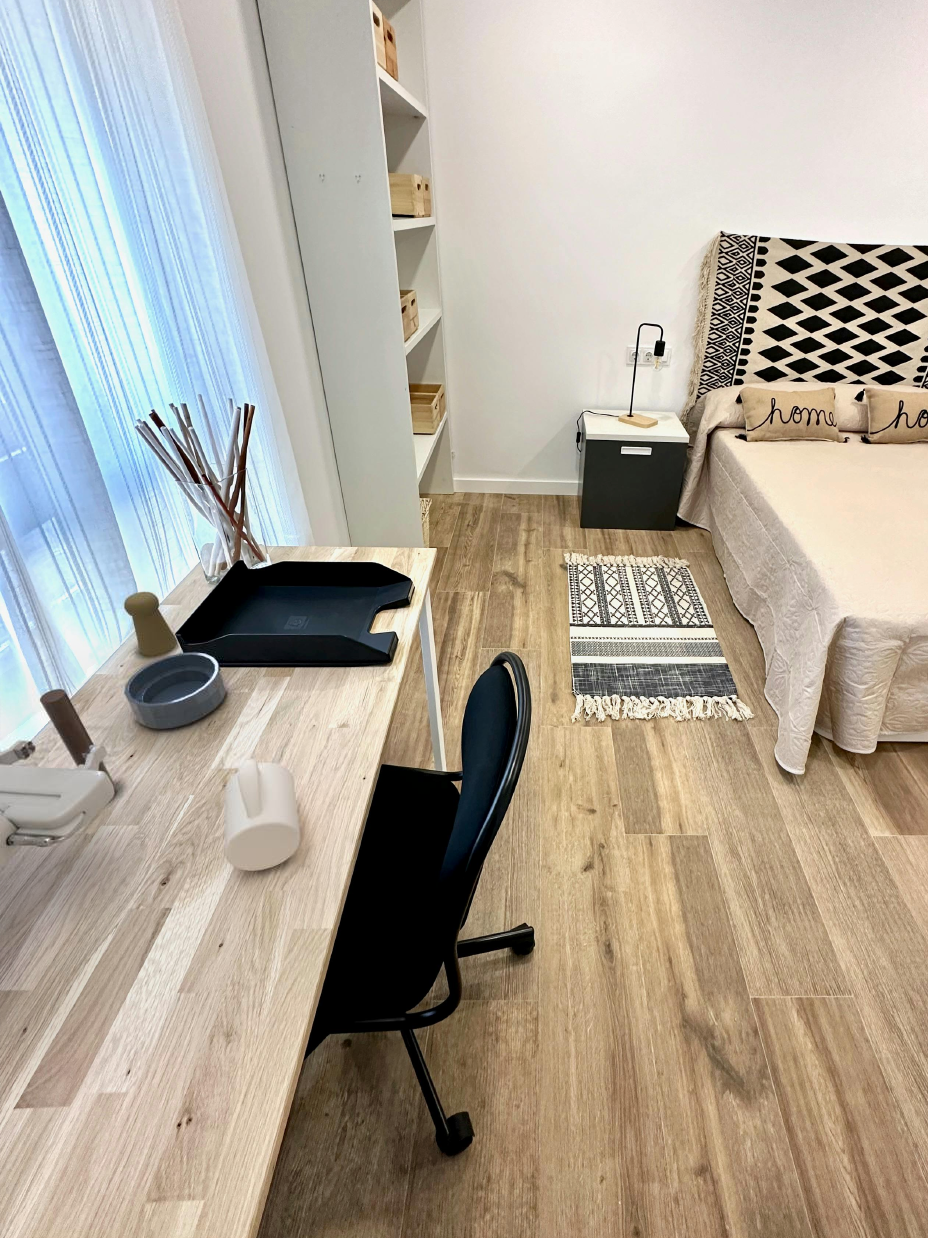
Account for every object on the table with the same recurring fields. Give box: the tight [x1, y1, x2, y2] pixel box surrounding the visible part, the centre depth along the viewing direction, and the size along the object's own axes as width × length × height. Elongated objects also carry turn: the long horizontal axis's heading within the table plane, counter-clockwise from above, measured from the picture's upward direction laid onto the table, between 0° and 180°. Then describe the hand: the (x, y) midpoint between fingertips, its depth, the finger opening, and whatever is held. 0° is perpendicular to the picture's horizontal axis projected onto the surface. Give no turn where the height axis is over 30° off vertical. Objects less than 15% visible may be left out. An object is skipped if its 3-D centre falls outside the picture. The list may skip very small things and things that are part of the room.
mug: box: [224, 758, 301, 872], centre depth 77 cm, size 8×10×12 cm
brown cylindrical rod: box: [39, 688, 118, 796], centre depth 80 cm, size 3×3×18 cm
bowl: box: [123, 651, 227, 730], centre depth 99 cm, size 13×13×6 cm
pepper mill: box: [123, 591, 178, 657], centre depth 110 cm, size 6×6×11 cm
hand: (64, 746), depth 78 cm, fingers open, 8 cm apart
